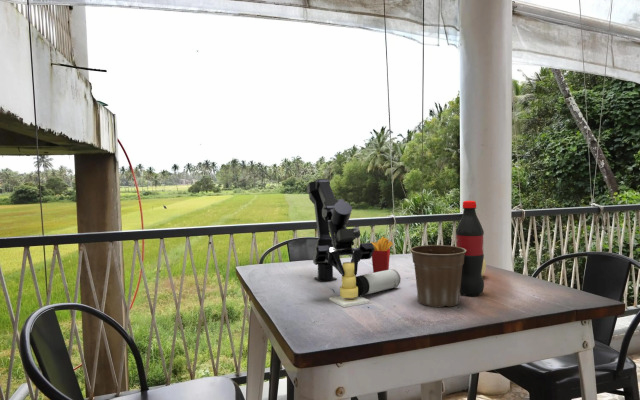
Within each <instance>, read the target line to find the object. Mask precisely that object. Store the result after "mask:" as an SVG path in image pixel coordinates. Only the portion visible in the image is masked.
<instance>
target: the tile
mask: <svg viewBox="0 0 640 400" xmlns="http://www.w3.org/2000/svg"><path fill="white" fill-rule="evenodd" d="M328 300H329V301H330V302H333V303H334V304H337V305H338V306H340V307H342V308H347V307H354V306H360V305H364V304H370V299H368V298H365V297H363V296H357V297H354V298H344V297H341V296H340V295H337V296H336V295H335V296H331V297H329V299H328Z"/></svg>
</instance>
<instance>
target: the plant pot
mask: <svg viewBox="0 0 640 400" xmlns="http://www.w3.org/2000/svg"><path fill="white" fill-rule="evenodd" d="M410 253H411V257H412V263H413V264H414V272H415V273H414V274H415V281H416V292H417V301H418V302H419V303H420V304H422V305H424V306H427V307H432V308H434V307H435V308H443V307H445V306H446V307H448V308H450V307H451V308H452V307H456V306H457V305H458V304H460V302H461V301H460V300H461V298H460V297H461V293H460V288H461V276H462V265H463V264H464V255H465V253H466V249H464V248H461V247H456V245H447V244H445V245H444V244H443V245H441V244H428V245H427V244H425V245H415V246H414V247H411V248H410Z"/></svg>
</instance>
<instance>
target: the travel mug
mask: <svg viewBox="0 0 640 400" xmlns="http://www.w3.org/2000/svg"><path fill="white" fill-rule="evenodd" d="M355 276H356V286H357V287H358V296H361V297H363V296H366V295H371V294H374V293H378V292H383V291H386V290H390V289H393V288H394V289H395V288H397V287H399V285H400V284H401V275H400V273H399V271H397V270H396V269H391V268H389V270H385V271H380V272H375V273H373V272H371V273H370V272H369V273H366V274H365V273H364V274H360V275H355Z"/></svg>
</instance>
